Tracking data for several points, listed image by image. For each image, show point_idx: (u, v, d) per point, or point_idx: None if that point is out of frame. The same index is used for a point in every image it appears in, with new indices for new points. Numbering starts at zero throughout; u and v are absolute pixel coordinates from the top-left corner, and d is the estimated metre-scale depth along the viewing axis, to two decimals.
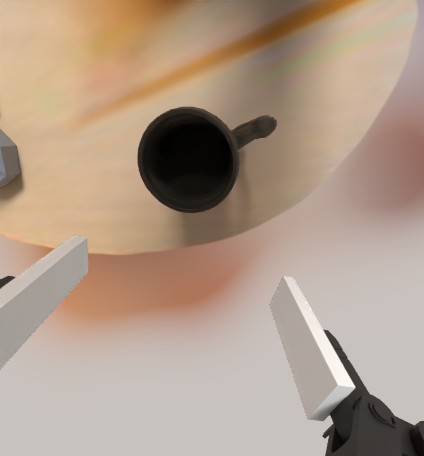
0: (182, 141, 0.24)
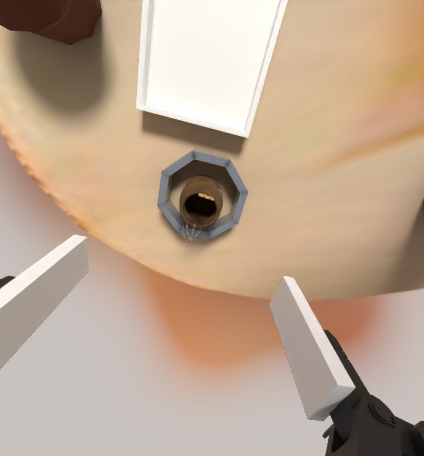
0: None
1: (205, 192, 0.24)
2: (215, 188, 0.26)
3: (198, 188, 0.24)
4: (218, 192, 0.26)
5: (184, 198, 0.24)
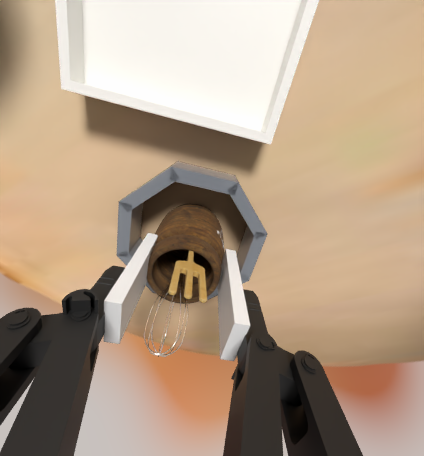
0: None
1: (192, 248, 0.12)
2: (211, 233, 0.15)
3: (179, 239, 0.13)
4: (216, 239, 0.15)
5: (152, 258, 0.13)
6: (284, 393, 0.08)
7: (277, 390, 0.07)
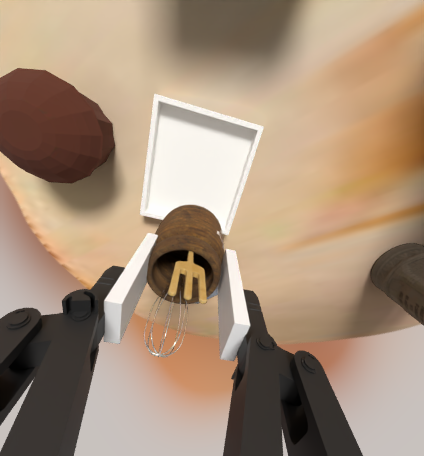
0: None
1: (192, 248, 0.12)
2: (211, 233, 0.15)
3: (179, 240, 0.13)
4: (216, 240, 0.15)
5: (152, 258, 0.13)
6: (283, 393, 0.08)
7: (277, 390, 0.07)
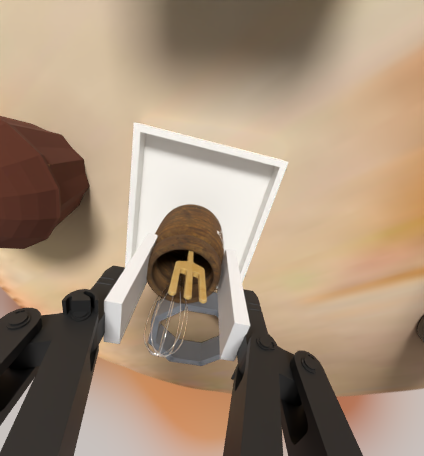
0: None
1: (192, 248, 0.12)
2: (211, 233, 0.14)
3: (179, 240, 0.13)
4: (216, 240, 0.15)
5: (152, 258, 0.13)
6: (283, 393, 0.08)
7: (277, 390, 0.07)
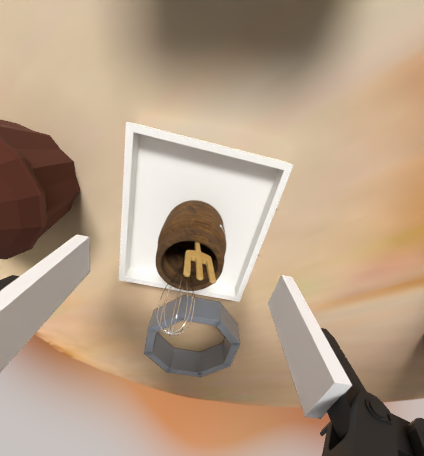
0: None
1: (198, 240, 0.14)
2: (215, 226, 0.16)
3: (186, 232, 0.14)
4: (220, 232, 0.16)
5: (162, 249, 0.14)
6: None
7: None
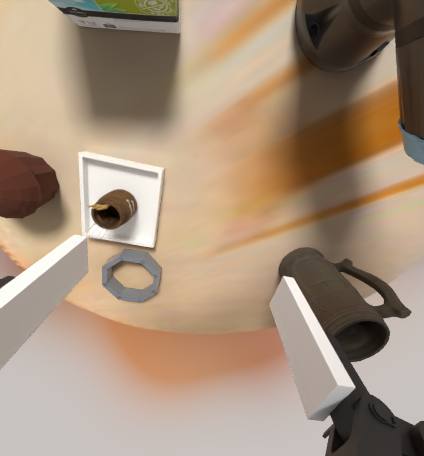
0: None
1: (108, 203, 0.32)
2: (121, 199, 0.34)
3: (103, 200, 0.32)
4: (124, 202, 0.34)
5: None
6: None
7: None
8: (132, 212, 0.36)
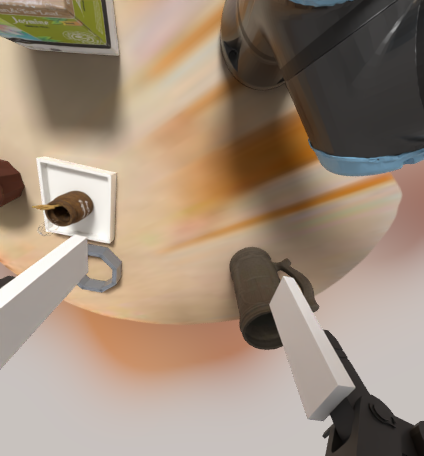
0: None
1: (58, 203, 0.36)
2: (73, 200, 0.38)
3: (55, 200, 0.36)
4: (75, 203, 0.38)
5: None
6: None
7: None
8: (85, 211, 0.41)
